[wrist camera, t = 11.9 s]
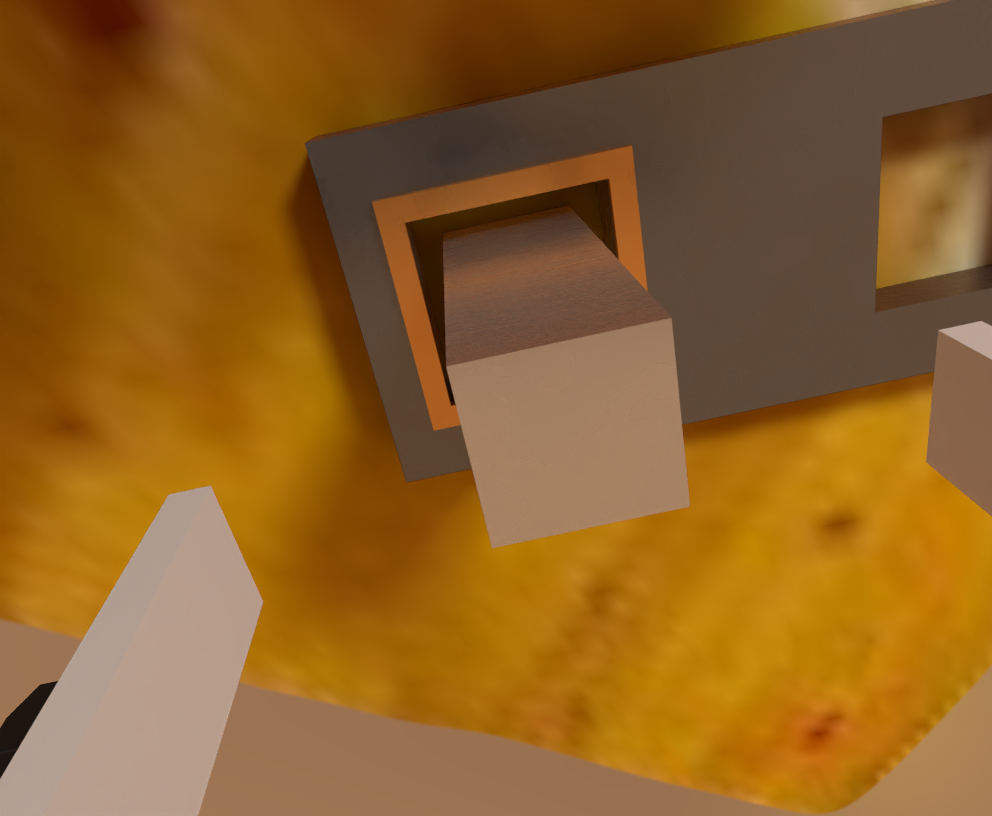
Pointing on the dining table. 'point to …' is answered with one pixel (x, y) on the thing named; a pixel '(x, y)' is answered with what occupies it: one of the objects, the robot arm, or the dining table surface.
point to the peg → (560, 378)
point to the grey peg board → (680, 211)
